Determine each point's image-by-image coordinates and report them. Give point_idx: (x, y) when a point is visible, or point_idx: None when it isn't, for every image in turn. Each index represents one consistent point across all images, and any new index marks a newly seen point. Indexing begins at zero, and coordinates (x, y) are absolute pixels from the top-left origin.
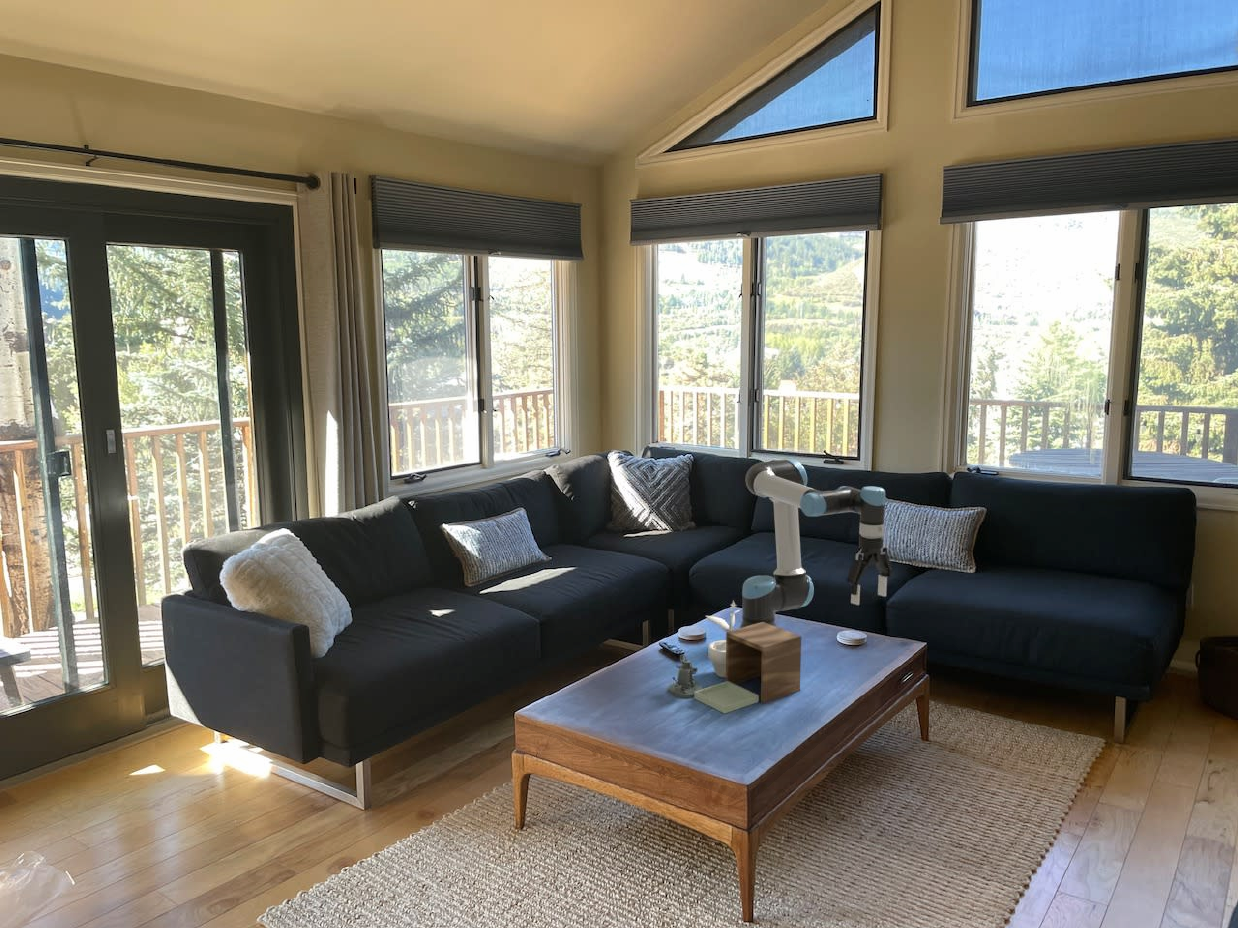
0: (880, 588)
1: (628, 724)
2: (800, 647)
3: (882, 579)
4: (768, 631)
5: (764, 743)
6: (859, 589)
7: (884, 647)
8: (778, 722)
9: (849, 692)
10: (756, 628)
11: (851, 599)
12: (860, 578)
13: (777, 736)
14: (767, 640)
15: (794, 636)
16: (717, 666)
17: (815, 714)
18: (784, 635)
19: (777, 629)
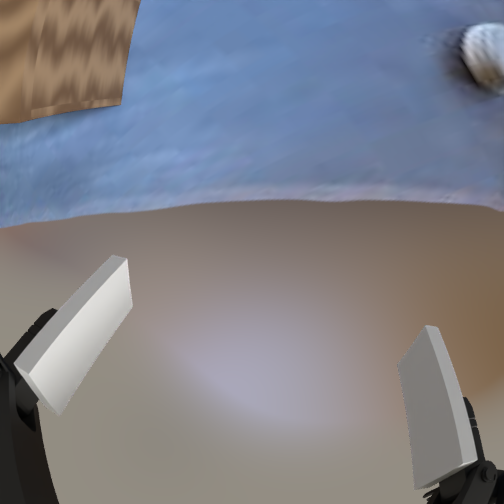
0: (426, 381)
1: None
2: (45, 116)
3: (431, 456)
4: (5, 40)
5: (4, 196)
6: (72, 386)
7: (493, 143)
8: (31, 170)
9: (183, 186)
10: (9, 7)
11: (98, 272)
12: (40, 460)
13: (16, 196)
14: None
15: (11, 112)
16: None
17: (74, 193)
18: (3, 90)
19: (22, 36)
